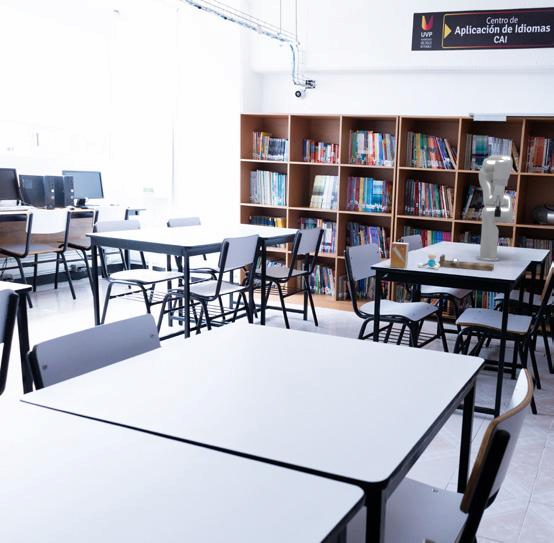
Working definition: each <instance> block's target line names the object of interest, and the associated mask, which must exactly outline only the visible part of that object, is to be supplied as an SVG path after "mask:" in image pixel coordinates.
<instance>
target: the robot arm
mask: <svg viewBox="0 0 554 543" xmlns="http://www.w3.org/2000/svg"><path fill="white" fill-rule="evenodd" d="M512 169H513V157H512V156H511V155H510V154H492V155H490V156H488V157H487V158H486V157H485V158H484V159H483V161H482V167H481V168H480V169H479V172H478V180H479V182H478V183H479V185H480V188H481V189H482V197H483V199H482V200H483V206H484V207H482V210H481V234H480V246H479V256H477V257H476V260H479V261H488V262H489V261H490V262H495V261H497V262H498V261H500V258H499V257H497V255H498V246H499V245H498V243H499V242H498V241H499V228H498V226H497V225H496V224H497V223H498V224H499V223H500V224H508V223H511V222H512V221H513V218H514V208H513V200H512V196H511V194H509V193H507V192H505V188H506V187H508V182H509V179H510V175H511V172H512Z"/></svg>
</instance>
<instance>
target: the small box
mask: <svg viewBox="0 0 554 543" xmlns="http://www.w3.org/2000/svg"><path fill="white" fill-rule="evenodd" d="M409 247H410V242H397V241H393V242H392V243H391V248H390V263H389V264H390V265H389V268H393V267H395V269H403V268H405V269H407V268H408V263H409V262H408V261H409V251H410V250H409Z"/></svg>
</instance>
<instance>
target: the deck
mask: <svg viewBox="0 0 554 543" xmlns="http://www.w3.org/2000/svg"><path fill="white" fill-rule="evenodd" d="M445 258H446V254H441V255H440V256H439V261H438V262H437V263H439V264H440V267H439V268H450V269H451V268H452V269H460V268H461V270H472V271H484V270H485V272H493V271H494V269H495V268H494V267H495V263H485V262H484V263H483V262H475V261H474V262H473V261H472V262H470V261H462V260H461V261H460V260H459V263H451V261H452V260H447V259H445ZM492 270H493V271H492Z"/></svg>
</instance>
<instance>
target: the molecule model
mask: <svg viewBox="0 0 554 543" xmlns="http://www.w3.org/2000/svg"><path fill="white" fill-rule="evenodd" d="M427 257H428V259H429V260H428V261H427V262H426V263H424V264H423V263H422V262H419V263H418V264H417V267H418V268H420V269H421V268H424V267H426V266H428V267H430V268H433V270H434V271H438V270H439V269H440V268H441V267H440V264H439V263H438V262H436V261H435V259H436V258H437V254H436V253H435V252H429V254H428V256H427Z"/></svg>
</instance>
